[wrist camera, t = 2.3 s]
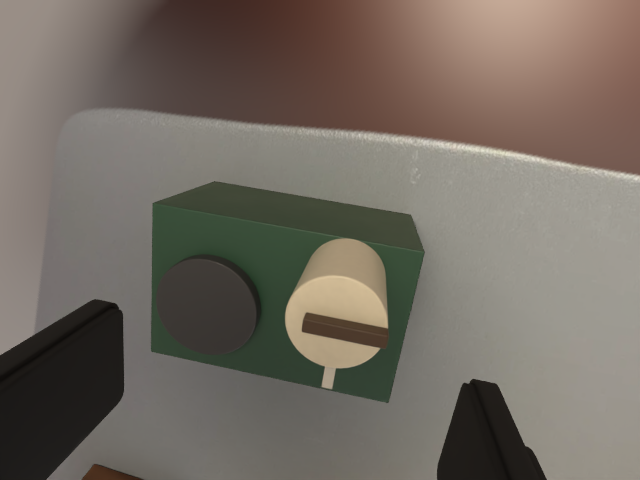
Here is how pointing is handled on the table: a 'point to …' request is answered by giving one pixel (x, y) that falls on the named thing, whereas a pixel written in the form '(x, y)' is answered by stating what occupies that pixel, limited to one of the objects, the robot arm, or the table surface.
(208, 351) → the camp stove
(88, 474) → the block
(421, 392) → the table surface
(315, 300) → the stove knob
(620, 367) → the table surface
